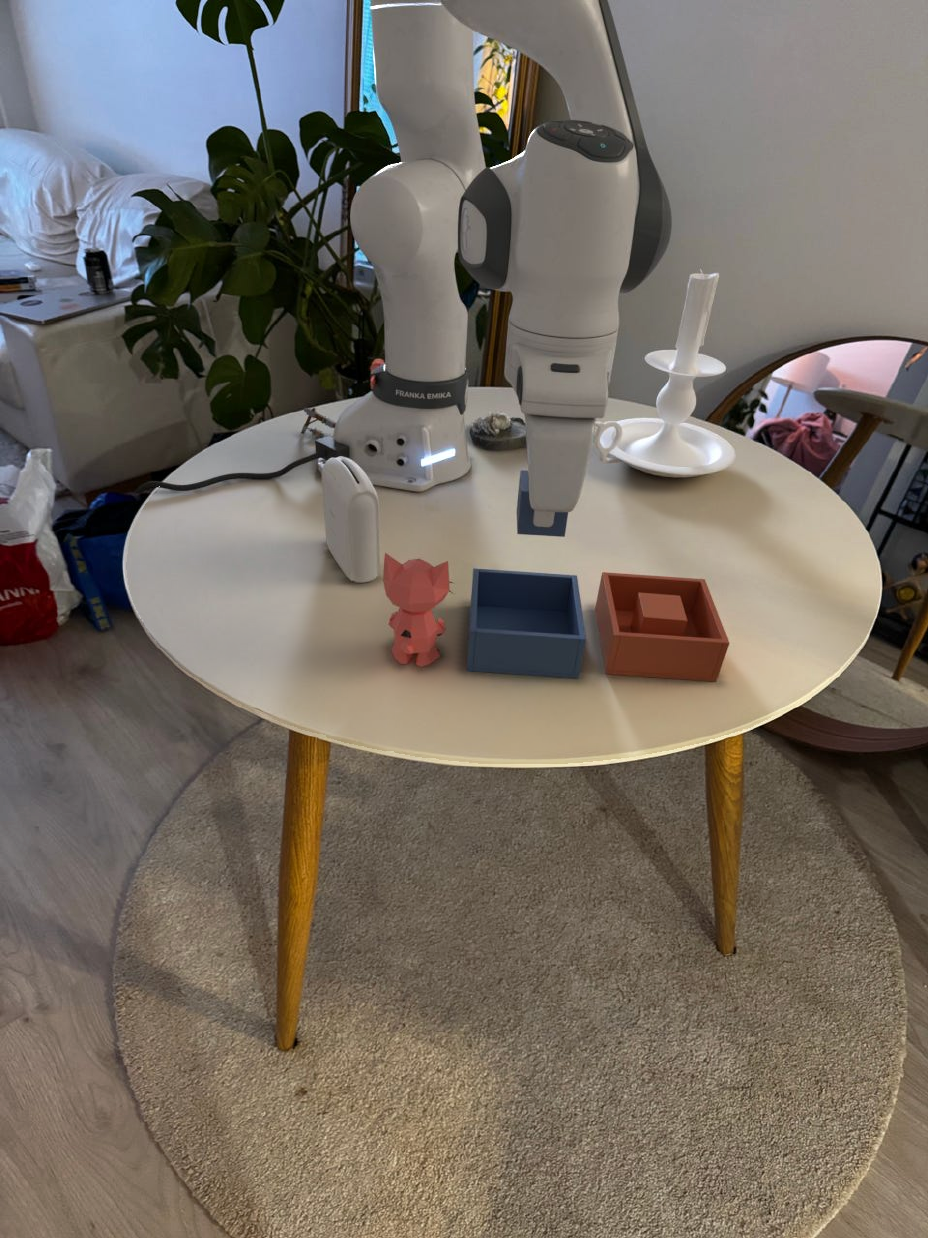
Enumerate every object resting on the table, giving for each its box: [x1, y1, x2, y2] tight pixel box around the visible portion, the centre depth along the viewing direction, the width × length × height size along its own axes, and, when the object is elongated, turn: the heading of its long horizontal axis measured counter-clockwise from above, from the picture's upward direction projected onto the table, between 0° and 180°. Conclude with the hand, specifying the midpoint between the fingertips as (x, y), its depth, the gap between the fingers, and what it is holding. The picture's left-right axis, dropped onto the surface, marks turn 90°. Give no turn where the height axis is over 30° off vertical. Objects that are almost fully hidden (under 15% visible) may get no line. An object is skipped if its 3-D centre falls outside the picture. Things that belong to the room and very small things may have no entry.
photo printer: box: [321, 456, 381, 583], centre depth 86 cm, size 10×4×12 cm, turn 26°
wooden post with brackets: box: [300, 407, 336, 438], centre depth 118 cm, size 2×8×4 cm, turn 87°
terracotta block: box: [631, 593, 687, 636], centre depth 79 cm, size 4×4×4 cm
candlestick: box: [593, 268, 737, 478], centre depth 108 cm, size 21×25×28 cm
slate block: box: [516, 469, 569, 538], centre depth 70 cm, size 4×4×4 cm
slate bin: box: [466, 567, 587, 679], centre depth 78 cm, size 11×11×5 cm
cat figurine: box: [382, 552, 456, 668], centre depth 73 cm, size 7×7×12 cm
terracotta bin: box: [594, 571, 730, 683], centre depth 79 cm, size 11×11×5 cm
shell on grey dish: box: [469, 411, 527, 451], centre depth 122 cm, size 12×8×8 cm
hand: (541, 508), depth 70 cm, fingers closed on slate block, 4 cm apart
